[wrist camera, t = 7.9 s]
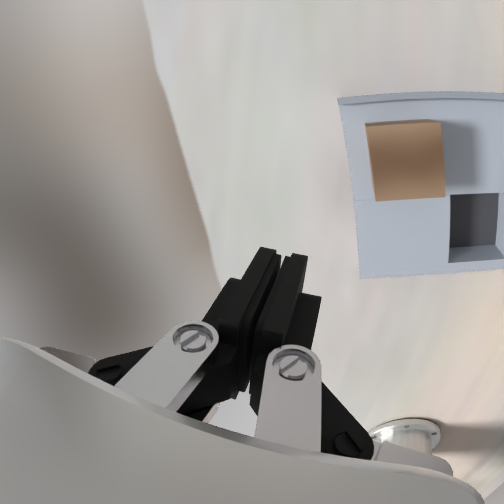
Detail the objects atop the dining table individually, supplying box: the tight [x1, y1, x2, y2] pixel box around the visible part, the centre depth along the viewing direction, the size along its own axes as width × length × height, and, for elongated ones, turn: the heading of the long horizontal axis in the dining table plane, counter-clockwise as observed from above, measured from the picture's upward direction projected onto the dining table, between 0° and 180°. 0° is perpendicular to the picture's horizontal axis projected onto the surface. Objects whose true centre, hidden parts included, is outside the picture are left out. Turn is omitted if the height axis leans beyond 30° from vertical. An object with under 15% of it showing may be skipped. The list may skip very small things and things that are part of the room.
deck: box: [337, 92, 504, 279], centre depth 21 cm, size 16×22×4 cm
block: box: [364, 119, 446, 202], centre depth 20 cm, size 5×5×4 cm
